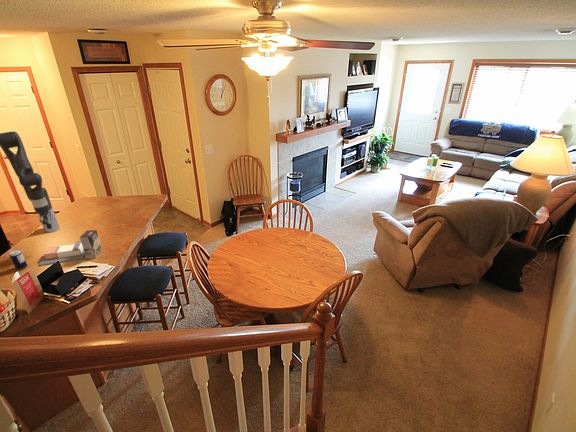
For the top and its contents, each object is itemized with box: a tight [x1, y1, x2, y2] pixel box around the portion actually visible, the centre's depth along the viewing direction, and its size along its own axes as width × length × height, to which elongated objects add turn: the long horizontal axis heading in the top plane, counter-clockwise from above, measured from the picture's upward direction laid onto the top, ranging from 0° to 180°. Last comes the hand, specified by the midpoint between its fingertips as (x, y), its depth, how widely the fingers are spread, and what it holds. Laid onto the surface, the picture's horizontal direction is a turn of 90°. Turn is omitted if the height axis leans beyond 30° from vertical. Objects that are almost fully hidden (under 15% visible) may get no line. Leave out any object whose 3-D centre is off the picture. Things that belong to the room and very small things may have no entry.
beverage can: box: [8, 249, 28, 271], centre depth 183 cm, size 6×6×12 cm
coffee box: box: [79, 229, 103, 259], centre depth 196 cm, size 9×6×16 cm
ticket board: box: [38, 240, 86, 267], centre depth 197 cm, size 18×24×6 cm
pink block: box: [43, 245, 60, 259], centre depth 195 cm, size 8×6×4 cm
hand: (50, 228), depth 197 cm, fingers closed
